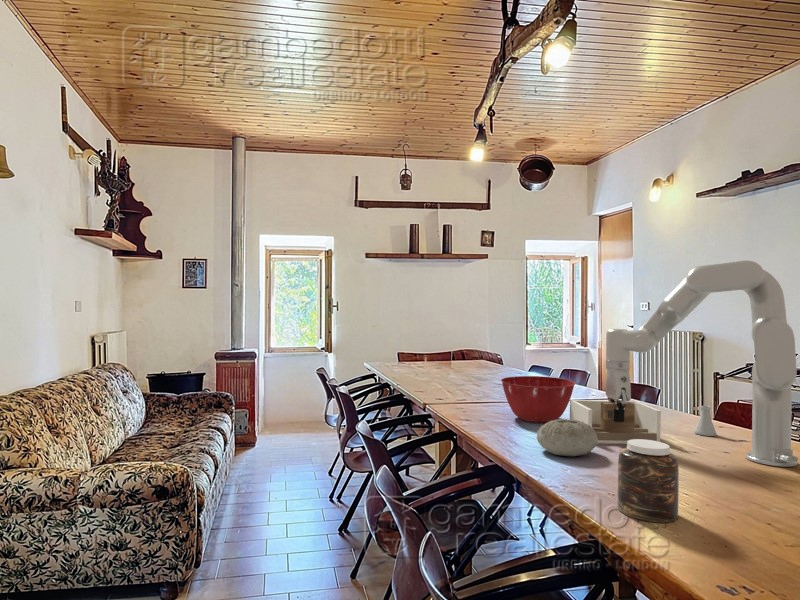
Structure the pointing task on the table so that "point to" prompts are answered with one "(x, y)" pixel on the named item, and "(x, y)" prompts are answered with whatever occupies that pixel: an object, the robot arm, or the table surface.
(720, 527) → the table surface
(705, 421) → the flask
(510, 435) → the table surface
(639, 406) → the open white box
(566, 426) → the decorative shell
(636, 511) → the jar
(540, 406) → the mixing bowl
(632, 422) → the cardboard box
